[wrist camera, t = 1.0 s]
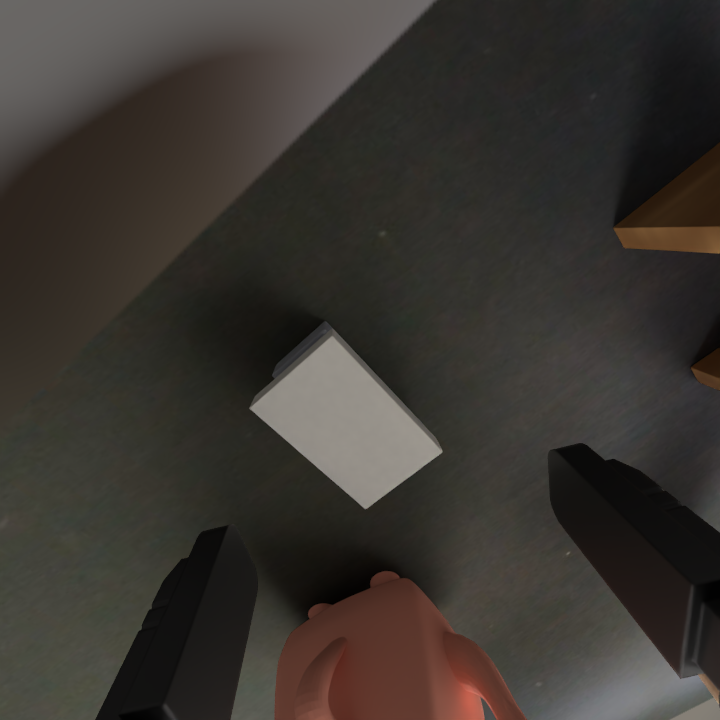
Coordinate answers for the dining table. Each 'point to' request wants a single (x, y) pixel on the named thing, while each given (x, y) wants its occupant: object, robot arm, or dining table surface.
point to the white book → (346, 421)
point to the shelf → (682, 228)
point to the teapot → (386, 662)
